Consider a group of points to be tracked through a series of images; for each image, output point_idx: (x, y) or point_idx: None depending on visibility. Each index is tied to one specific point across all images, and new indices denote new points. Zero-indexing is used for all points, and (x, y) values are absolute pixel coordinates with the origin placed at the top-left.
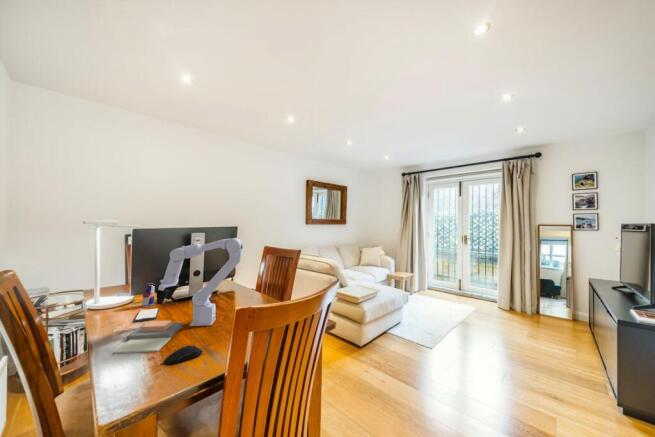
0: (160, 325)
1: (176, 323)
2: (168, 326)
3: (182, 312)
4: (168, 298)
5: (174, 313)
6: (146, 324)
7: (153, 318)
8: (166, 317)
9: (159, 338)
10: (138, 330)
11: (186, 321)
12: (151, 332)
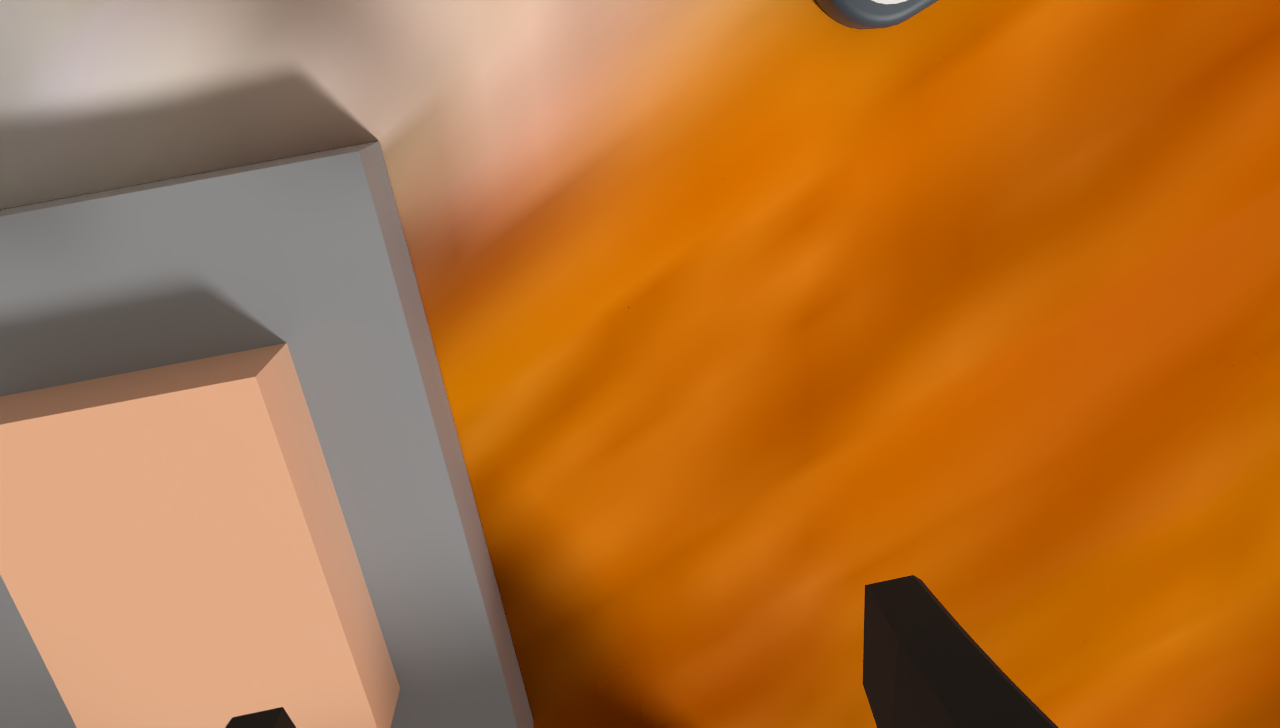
0: (115, 723)
1: (474, 723)
2: None
3: (1212, 337)
4: (878, 691)
5: (1176, 212)
6: (74, 445)
7: (829, 6)
8: (955, 195)
9: None
10: (26, 299)
11: (754, 657)
12: None
